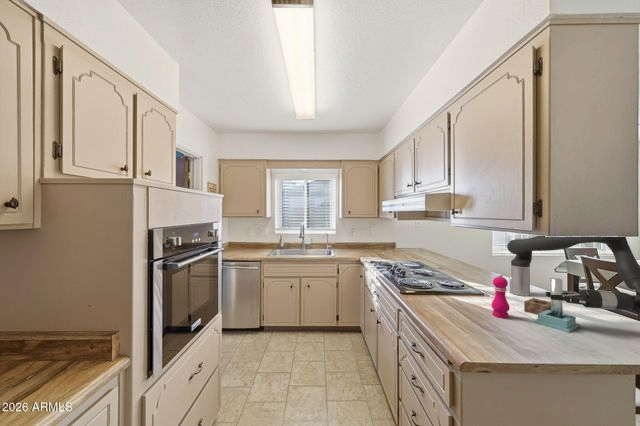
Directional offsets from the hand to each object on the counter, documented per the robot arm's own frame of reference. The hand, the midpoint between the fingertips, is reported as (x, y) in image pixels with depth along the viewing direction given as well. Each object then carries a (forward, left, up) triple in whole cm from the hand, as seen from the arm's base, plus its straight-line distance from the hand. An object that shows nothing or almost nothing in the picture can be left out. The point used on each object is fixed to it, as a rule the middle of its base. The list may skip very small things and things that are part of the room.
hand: (548, 295), depth 121 cm
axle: (+2, +2, -10) cm, 11 cm away
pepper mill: (-16, -8, -13) cm, 22 cm away
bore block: (-8, +14, -12) cm, 20 cm away
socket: (+2, +2, -12) cm, 13 cm away
